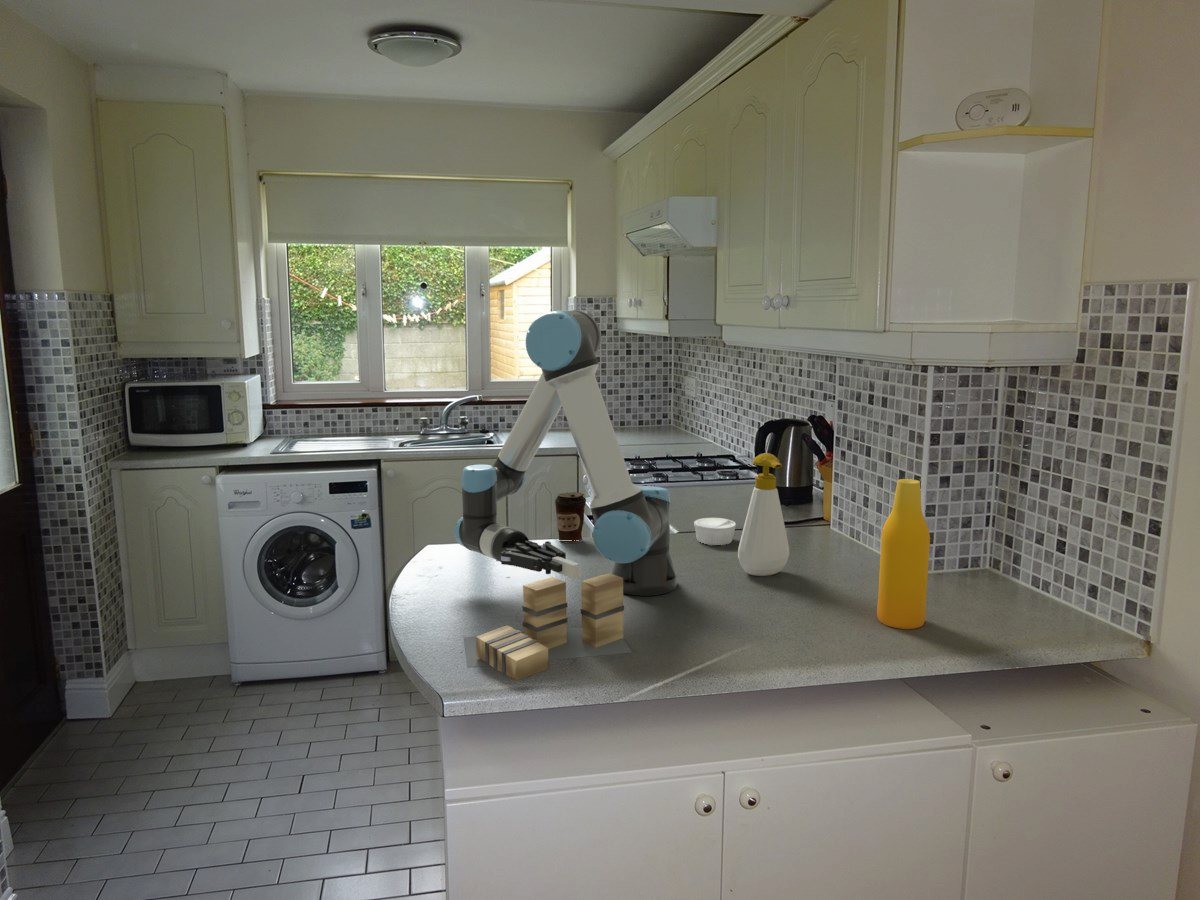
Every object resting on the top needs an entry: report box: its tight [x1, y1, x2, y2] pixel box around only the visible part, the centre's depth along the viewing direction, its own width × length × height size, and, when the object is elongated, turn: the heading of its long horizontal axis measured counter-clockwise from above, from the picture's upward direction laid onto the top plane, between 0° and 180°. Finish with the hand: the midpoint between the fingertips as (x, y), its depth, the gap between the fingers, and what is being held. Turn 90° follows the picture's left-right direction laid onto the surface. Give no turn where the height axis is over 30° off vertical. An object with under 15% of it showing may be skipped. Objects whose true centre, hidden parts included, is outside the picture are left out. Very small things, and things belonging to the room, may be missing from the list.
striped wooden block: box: [475, 624, 549, 681], centre depth 151 cm, size 4×7×12 cm
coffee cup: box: [554, 491, 587, 544], centre depth 230 cm, size 9×8×13 cm
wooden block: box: [521, 576, 569, 649], centre depth 159 cm, size 4×7×12 cm, turn 132°
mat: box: [463, 626, 632, 668], centre depth 160 cm, size 30×14×1 cm, turn 102°
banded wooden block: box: [580, 572, 625, 648], centre depth 161 cm, size 4×7×12 cm, turn 132°
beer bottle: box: [876, 478, 931, 630], centre depth 169 cm, size 9×9×29 cm
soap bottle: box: [737, 452, 790, 577], centre depth 199 cm, size 13×10×29 cm
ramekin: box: [693, 517, 737, 546], centre depth 229 cm, size 11×11×5 cm
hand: (576, 571), depth 165 cm, fingers closed
